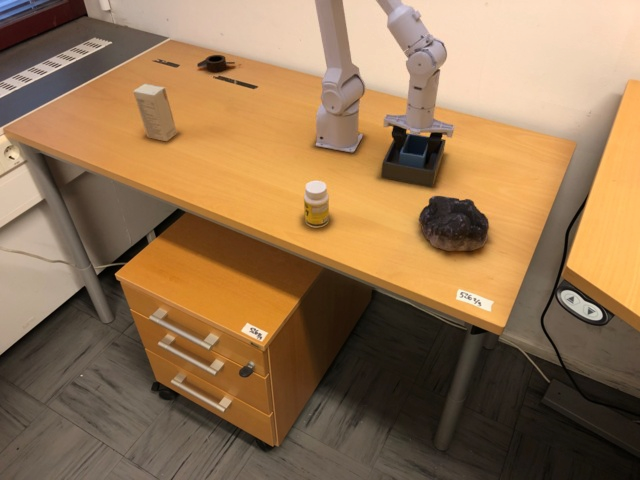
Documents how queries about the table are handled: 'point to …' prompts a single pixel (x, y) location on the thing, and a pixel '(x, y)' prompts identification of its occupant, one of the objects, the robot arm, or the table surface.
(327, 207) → the supplement bottle
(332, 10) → the robot arm
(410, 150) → the blue bin
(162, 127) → the cosmetic box
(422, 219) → the crystal cluster
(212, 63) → the black ring with tabs
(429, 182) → the charcoal bin
